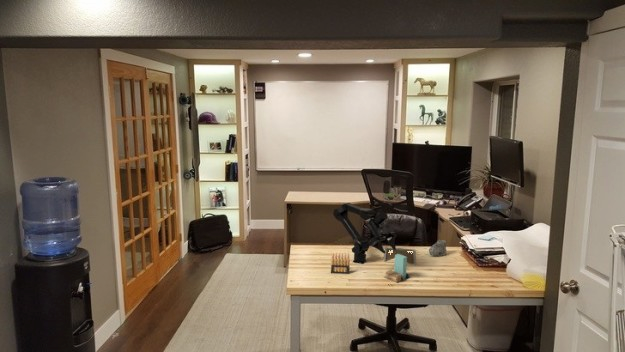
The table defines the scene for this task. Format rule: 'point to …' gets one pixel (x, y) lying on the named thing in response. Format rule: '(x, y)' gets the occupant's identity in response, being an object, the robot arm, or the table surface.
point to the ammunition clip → (339, 267)
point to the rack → (403, 278)
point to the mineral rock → (438, 248)
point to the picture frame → (402, 252)
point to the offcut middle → (392, 276)
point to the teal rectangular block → (400, 264)
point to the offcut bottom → (393, 279)
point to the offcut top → (394, 274)
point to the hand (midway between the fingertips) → (390, 251)
